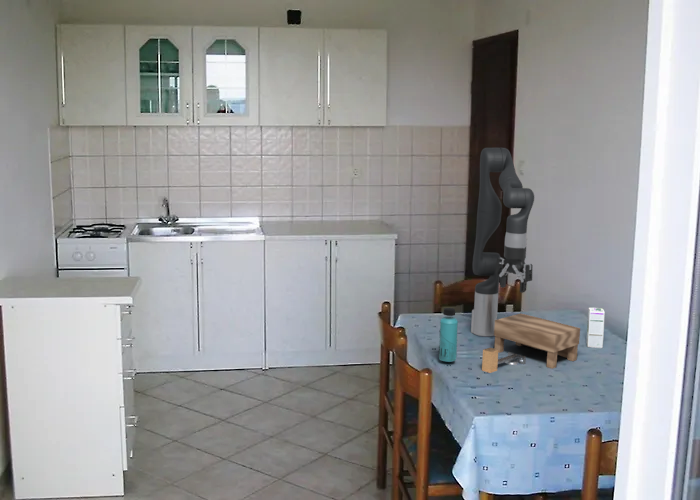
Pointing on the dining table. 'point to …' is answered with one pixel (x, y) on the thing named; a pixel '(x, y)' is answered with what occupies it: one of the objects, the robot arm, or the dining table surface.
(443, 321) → the beverage bottle
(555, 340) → the small wooden stool
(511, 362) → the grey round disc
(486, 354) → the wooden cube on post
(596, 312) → the syrup box
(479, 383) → the dining table surface
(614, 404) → the dining table surface
